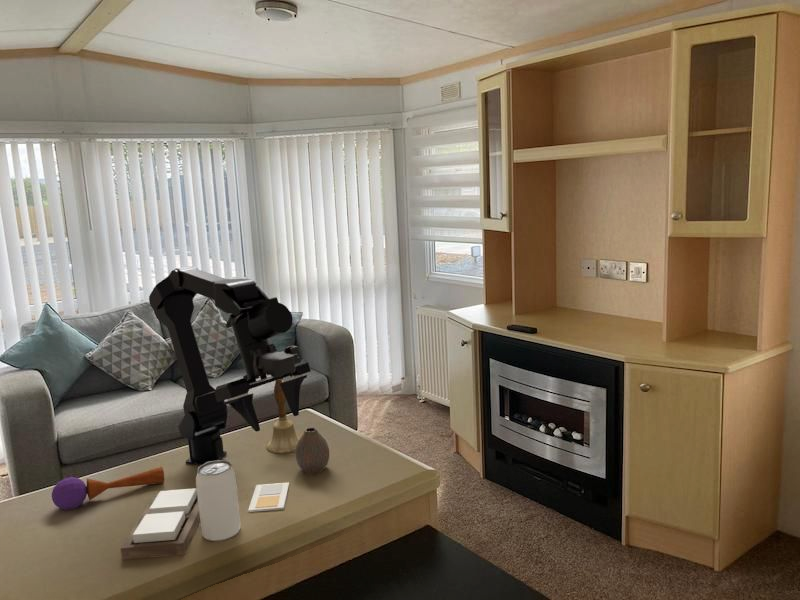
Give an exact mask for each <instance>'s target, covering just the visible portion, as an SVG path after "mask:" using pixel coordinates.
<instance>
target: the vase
mask: <svg viewBox="0 0 800 600" xmlns="http://www.w3.org/2000/svg"><path fill="white" fill-rule="evenodd" d="M299 438H300V440H299V441H298V443H297V446H296V451H295V459H296V463H297V465H298V468H299V469H301V470H302V471H303V472H304V473H306V474H309V475H310V474H318V473H320V472H322V471H323V470H325V468H326V467H327V466H328V463H329V460H330V448H329V444H328V442H327V440H326V439H325V438H324V437H323V436H322V435H321V434H320V433H319V431H318V429H317V428H316V427H307V428H305V429H304V431H303V434H302V436H301V437H299Z"/></svg>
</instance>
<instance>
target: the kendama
mask: <svg viewBox="0 0 800 600" xmlns="http://www.w3.org/2000/svg"><path fill="white" fill-rule="evenodd" d="M163 482H164V483H165V472H164V468H163V466H159V467H156V468H153V469H149V470H145V471H143V472H140V473H136V474H132V475H129V476H126V477H121V478H119V479H117V480H112V481H110V482H106V481H101V480H96V479H90V478H87V479H86V483H85V482H84V481H83V480H82V479H80V478H79V477H73V476H70V477H65V478H63V479H61V480H59V481H58V482H57V483H56V484H55V485H54V487H53V489H52V492H51V500H52V502H53V504H54V505H55V506H56V507H57V508H59V509H61V510H65V511H68V510H69V511H70V510H73V509H77V508H78V507H79V506H81V505H82V504H83V503H84V501H86V498H87V497H88V501H91V500H93V499H94V498H96V497H98V496H99V495H101V494H102V493H103V492H105V491H107V490H108V489H117V488H124V487H126V488H128V487H136V486H137V487H138V486H145V485H155V484H156V485H157V484H164V483H163Z"/></svg>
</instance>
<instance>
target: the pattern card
mask: <svg viewBox="0 0 800 600" xmlns="http://www.w3.org/2000/svg"><path fill="white" fill-rule="evenodd" d="M289 488H290V482H289V481H288V482H278V483H266V484H264V483H263V484H256V485H255V487H254V491H253V494H252V498H251V501H250V504H249V507H248V510H247V512H248V513H254V512H267V511H268V512H269V511H277V510H278V511H281V510H284V509H285V506H286V501H287V497H288V491H289Z"/></svg>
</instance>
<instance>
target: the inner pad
mask: <svg viewBox="0 0 800 600" xmlns="http://www.w3.org/2000/svg"><path fill="white" fill-rule="evenodd" d="M156 496H157V497H156V499H155V500H154V502H153V504H152V505H151V507H150V508H149V510H150V514H156V513H168V512H180V511H184V512H185V515H187V514H189V513H190V511H191V509H192V506H193V503H194V501H195V499H196V497H197V487H196V488H184V489H183V488H182V489H170V490H159V493H158V494H157V495H156Z"/></svg>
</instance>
